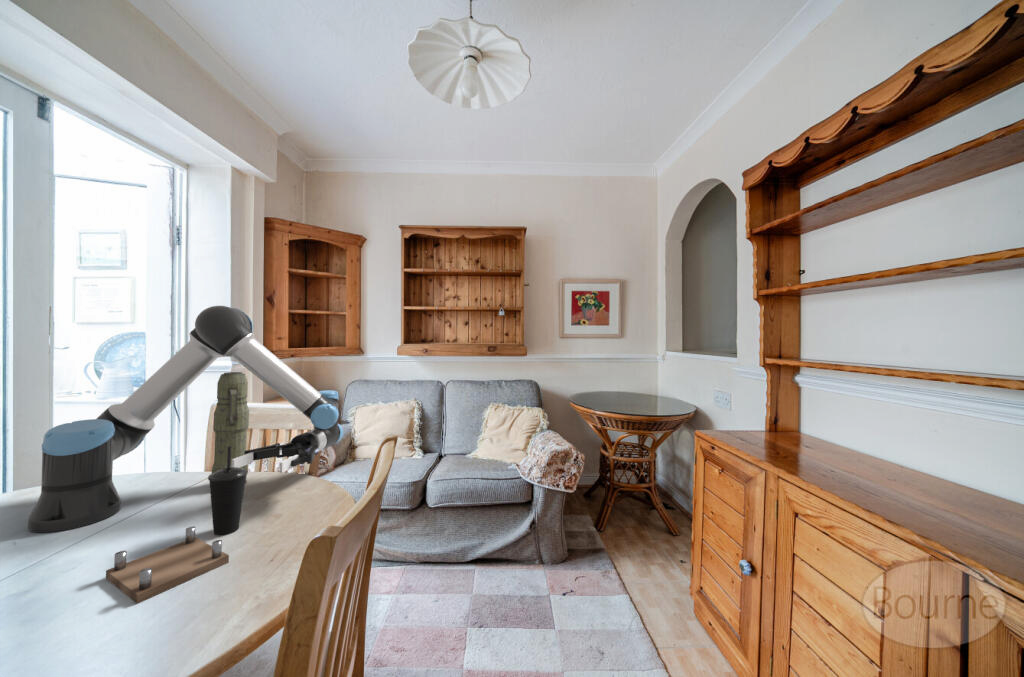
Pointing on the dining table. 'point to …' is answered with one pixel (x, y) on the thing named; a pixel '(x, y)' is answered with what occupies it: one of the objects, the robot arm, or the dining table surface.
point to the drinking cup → (227, 497)
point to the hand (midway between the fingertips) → (256, 466)
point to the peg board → (165, 567)
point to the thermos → (230, 419)
